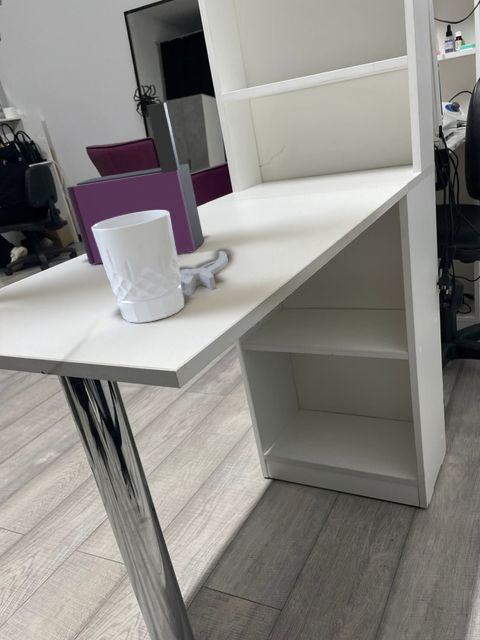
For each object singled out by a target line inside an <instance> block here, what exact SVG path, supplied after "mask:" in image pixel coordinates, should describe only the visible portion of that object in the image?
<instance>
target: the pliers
mask: <svg viewBox="0 0 480 640" xmlns="http://www.w3.org/2000/svg"><path fill="white" fill-rule="evenodd" d="M218 255H219V256H218V259H216V260H214V261H211V262H208V263H206V264H204V265H202V266H200V267H199V268H192V269H189V268H185V269H180V275H181V284H182V283H183V284H184V288H185V293H186V296H192V295H193V294H194V292H195V290H196V288H197V287H198V286H201V285H202V286H203V287H205V288H207V289H209V290H211V291H214V290H216V289H217V284H216V280H215V276H214V275H215V274H217V273H219V272H221V271H222V270H224V269H225V268H226V266H227V265H228V263H229V259H228V255H227V253H226V252H225V251H223V250H221V251H218Z"/></svg>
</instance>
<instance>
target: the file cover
mask: <svg viewBox="0 0 480 640" xmlns="http://www.w3.org/2000/svg"><path fill="white" fill-rule="evenodd" d="M146 108H147V113H148V118H149V122H150V126H151V131H152V136H153V140H154V145H155V149H156V153H157V158H158V163H159V168H161V171H162V172H160V173H154V174H147V175H141V176H134V177H128V178H121V179H115V180H108V181H102V182H96V183H89V184H83V185H77V184H76V185H70V186H67V187H66V191H67V194H68V197H69V201H70V204H71V208H72V211H73V214H74V217H75V221H76V224H77V227H78V231H79V234H80V237H81V240H82V244H83V247H84V251H85V254H86V258H87V261H88V264H89V265H94V264H103V262H102V259H101V256H100V253H99V250H98V247H97V244H96V241H95V238H94V235H93V232H92V229H91V227H92V226H93V225H95V224H97V223H99V222H101V221H104V220H107V219H110V218H114V217H118V216H122V215H126V214H131V213H136V212H142V211H150V210H167V211H169V213H170V219H171V224H172V230H173V235H174V241H175V246H176V251H177V255H179V254H185V253H186V254H187V253H193V252H196V251H197V250H196V247H195V243H194V238H193V233H192V229H191V224H190V219H189V215H188V210H187V205H186V201H185V196H184V191H183V187H182V182H181V177H180V173H179V170H180V166H179V165H180V162H179V158H178V153H177V147H176V143H175V138H174V133H173V129H172V125H171V120H170V117H169V111H168V106H167V102H164V101H163V102H158V103H154V104H147V105H146Z"/></svg>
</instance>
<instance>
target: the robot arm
mask: <svg viewBox="0 0 480 640" xmlns="http://www.w3.org/2000/svg"><path fill="white" fill-rule="evenodd" d="M2 5H3V1H2V0H0V6H2ZM1 41H2V35H1V34H0V42H1Z"/></svg>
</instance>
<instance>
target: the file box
mask: <svg viewBox="0 0 480 640" xmlns="http://www.w3.org/2000/svg"><path fill="white" fill-rule="evenodd" d="M179 166H180V170H179V173H180V177H181V182H182V187H183V191H184V196H185V201H186V205H187V210H188V215H189V219H190V224H191V229H192V233H193V238H194V243H195V247H196V250H195V251H197V250H198V249H199V248H200V247H201V246H202V245H203V244H204V243H205V239H204V233H203V230H202V224H201V220H200V215H199V209H198V205H197V201H196V195H195V190H194V185H193V180H192V175H191V172H190V171H191V170H190V167H189V163H181V164H179ZM160 172H162V171H161V167H156V168H150V169H144V170H143V169H142V170H138V171H131V172H124V173H118V174H112V175H106V176H99V177H93V178H89V179H86V180H83V181H81V182H78V183H76V185H83V184H89V183H96V182H102V181H108V180H115V179H121V178H128V177H134V176H141V175H147V174H154V173H160Z"/></svg>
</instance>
